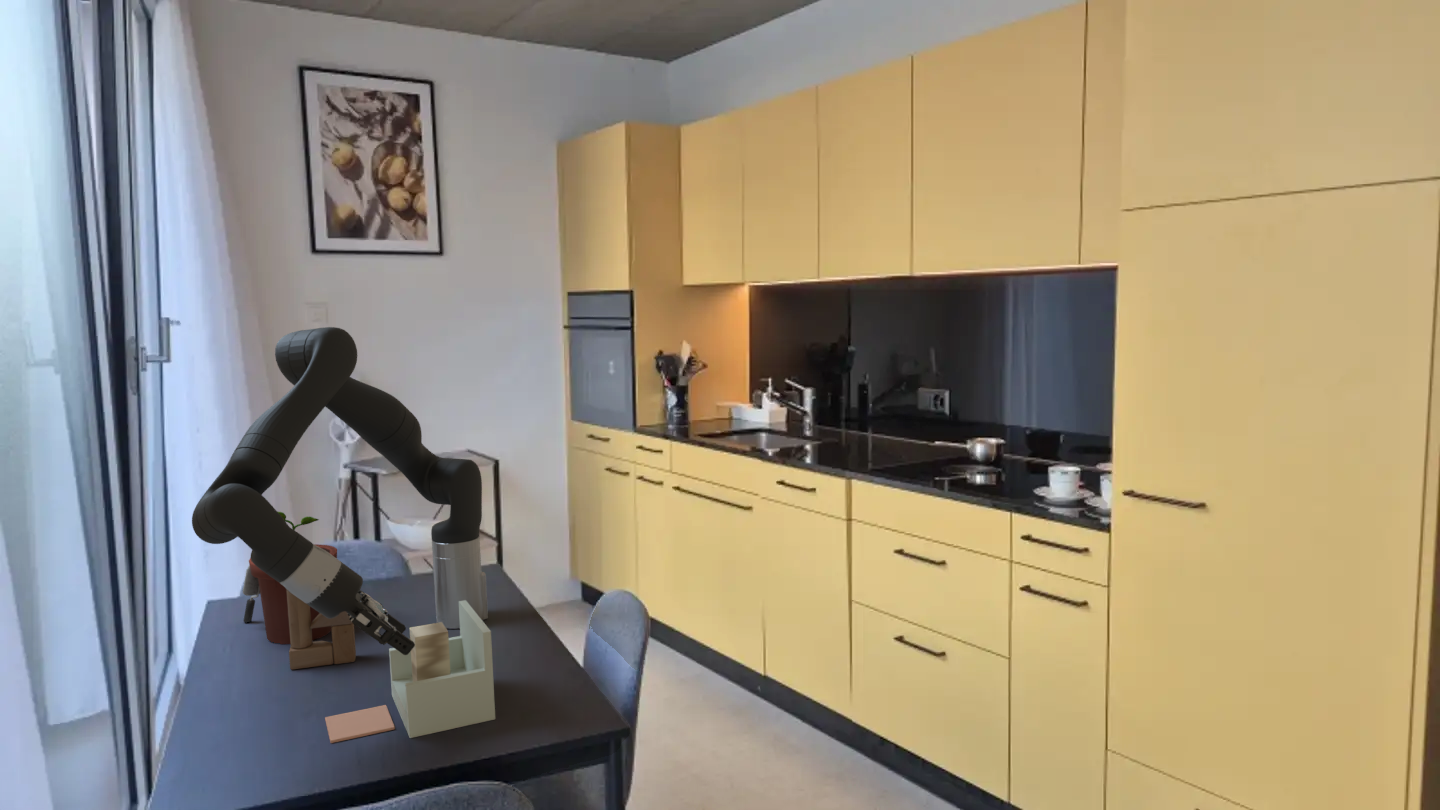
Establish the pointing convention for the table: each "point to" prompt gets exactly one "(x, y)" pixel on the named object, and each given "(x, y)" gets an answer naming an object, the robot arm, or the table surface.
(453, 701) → the cubby
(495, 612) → the table surface
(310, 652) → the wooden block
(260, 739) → the table surface
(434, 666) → the birch block
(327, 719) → the mat
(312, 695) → the table surface
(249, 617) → the potted plant
